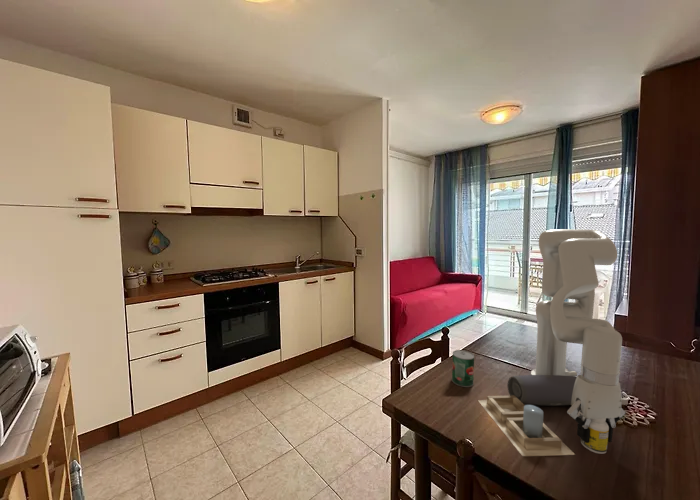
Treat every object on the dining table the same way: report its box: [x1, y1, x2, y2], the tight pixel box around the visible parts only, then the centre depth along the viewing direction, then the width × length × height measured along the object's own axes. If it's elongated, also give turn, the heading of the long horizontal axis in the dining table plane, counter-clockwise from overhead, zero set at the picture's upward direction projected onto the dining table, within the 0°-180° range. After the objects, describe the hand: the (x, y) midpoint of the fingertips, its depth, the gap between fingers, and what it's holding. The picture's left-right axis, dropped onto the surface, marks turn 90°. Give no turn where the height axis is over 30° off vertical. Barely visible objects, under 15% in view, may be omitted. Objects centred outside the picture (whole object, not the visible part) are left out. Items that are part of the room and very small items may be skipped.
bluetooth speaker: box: [507, 374, 577, 407], centre depth 96 cm, size 23×9×10 cm, turn 93°
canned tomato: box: [451, 349, 475, 388], centre depth 111 cm, size 8×8×11 cm
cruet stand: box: [477, 395, 576, 457], centre depth 85 cm, size 24×14×4 cm, turn 2°
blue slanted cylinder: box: [523, 404, 544, 438], centre depth 80 cm, size 5×5×8 cm
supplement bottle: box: [580, 417, 609, 455], centre depth 76 cm, size 5×5×10 cm
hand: (594, 437), depth 76 cm, fingers closed on supplement bottle, 5 cm apart
